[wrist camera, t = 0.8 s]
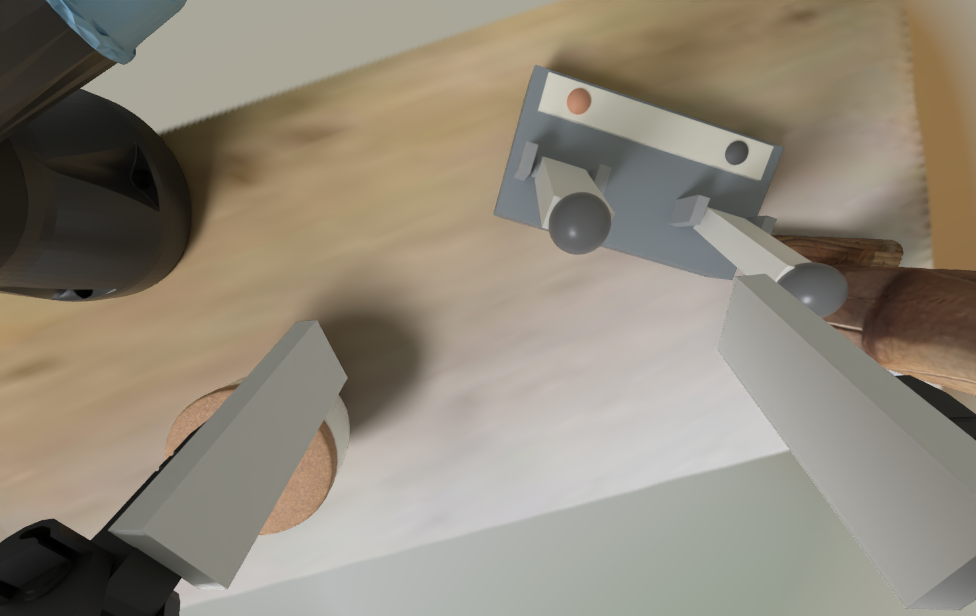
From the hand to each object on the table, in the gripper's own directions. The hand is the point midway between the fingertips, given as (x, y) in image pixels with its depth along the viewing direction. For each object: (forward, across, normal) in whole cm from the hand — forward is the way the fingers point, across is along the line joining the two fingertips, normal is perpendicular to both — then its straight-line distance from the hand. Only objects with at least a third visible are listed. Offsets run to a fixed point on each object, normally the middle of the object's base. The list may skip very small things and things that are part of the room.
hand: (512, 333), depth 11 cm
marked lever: (+16, +3, +1) cm, 17 cm away
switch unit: (+20, +8, -2) cm, 22 cm away
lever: (+16, +14, -4) cm, 22 cm away
